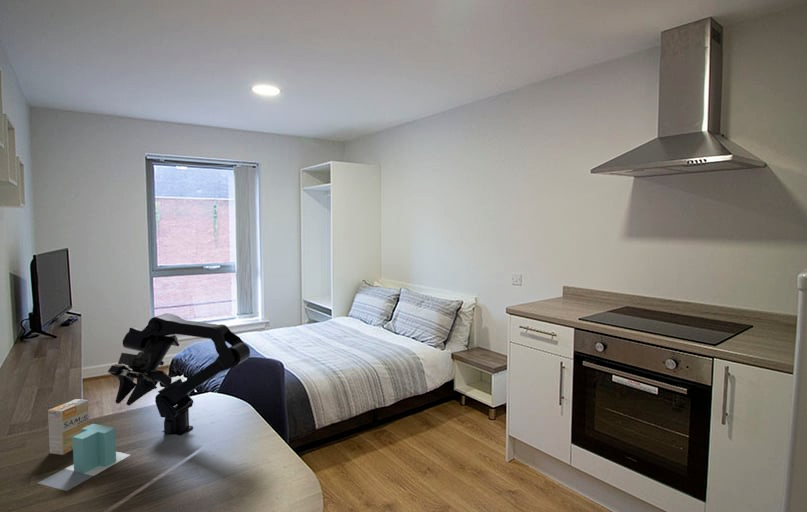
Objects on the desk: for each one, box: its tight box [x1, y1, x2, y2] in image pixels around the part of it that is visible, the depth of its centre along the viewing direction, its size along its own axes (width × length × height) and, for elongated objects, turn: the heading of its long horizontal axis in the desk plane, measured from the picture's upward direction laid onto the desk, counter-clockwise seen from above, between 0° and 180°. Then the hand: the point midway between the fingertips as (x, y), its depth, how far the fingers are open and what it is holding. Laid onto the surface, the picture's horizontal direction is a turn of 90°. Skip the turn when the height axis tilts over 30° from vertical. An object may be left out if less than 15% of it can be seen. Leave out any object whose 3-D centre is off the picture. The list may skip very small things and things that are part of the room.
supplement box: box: [47, 398, 90, 456], centre depth 123 cm, size 8×5×13 cm, turn 168°
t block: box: [72, 423, 117, 473], centre depth 114 cm, size 7×8×9 cm
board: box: [37, 451, 131, 492], centre depth 113 cm, size 17×10×1 cm, turn 163°
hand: (122, 404), depth 122 cm, fingers open, 4 cm apart
